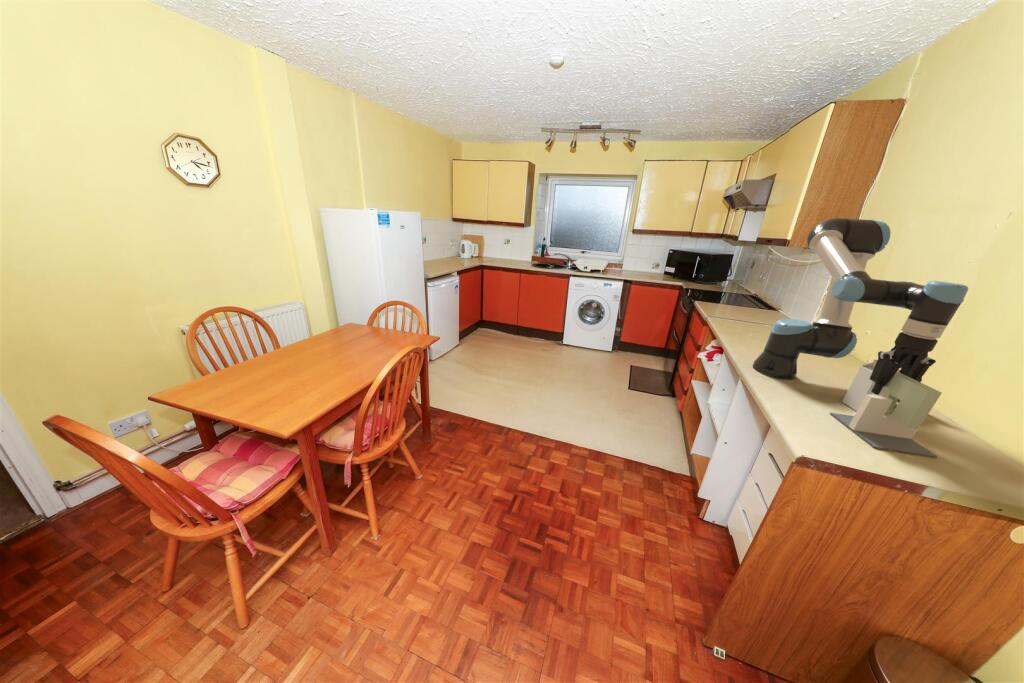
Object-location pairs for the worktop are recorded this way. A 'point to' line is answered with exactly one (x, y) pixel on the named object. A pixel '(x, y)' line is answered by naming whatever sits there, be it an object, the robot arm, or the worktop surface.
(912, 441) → the notched wall on base
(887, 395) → the pale green tall block
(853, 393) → the milk carton
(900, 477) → the worktop surface
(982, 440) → the worktop surface
